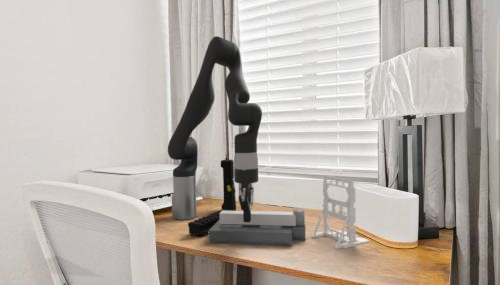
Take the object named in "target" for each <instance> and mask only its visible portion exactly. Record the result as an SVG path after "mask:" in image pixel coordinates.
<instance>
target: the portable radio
mask: <svg viewBox="0 0 500 285" xmlns="http://www.w3.org/2000/svg"><path fill="white" fill-rule="evenodd" d="M220 168H222V179H223V180H222V182H223V188H222V190H223V202H222V204H221V210H222V209H226V210H232V211H237V203H236V187H235V181H234V159H228V154H227V153H226V154H225V159H222V160H220Z"/></svg>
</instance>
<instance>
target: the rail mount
mask: <svg viewBox="0 0 500 285" xmlns="http://www.w3.org/2000/svg"><path fill="white" fill-rule="evenodd" d="M221 211H232V210H226V209H222V208H221V209H220V210H217V211H214V212H213V213H210V214H207V215H206V216H203V217H199V218H198V219H194V220H192V221H190V222H188V223H187V225H188V233H189V234H190V236H194V235H197V236H199V235H200V236H201V237H200V238H205V237H206V236H209V230H210V229H211V228H212V227H213V226H214V225H215V224H216V223H217V222H218V220H219V219H220V212H221Z"/></svg>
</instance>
